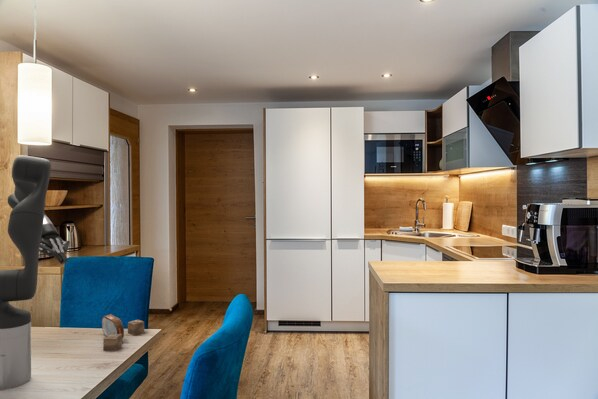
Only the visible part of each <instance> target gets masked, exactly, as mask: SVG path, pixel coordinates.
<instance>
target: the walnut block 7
mask: <svg viewBox="0 0 598 399" xmlns="http://www.w3.org/2000/svg"><path fill="white" fill-rule="evenodd" d="M127 333H128V335H132V336H138V335H141V334H144V333H145V321H143V320H140V319H135V320H131V321H127Z"/></svg>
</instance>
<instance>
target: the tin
mask: <svg viewBox="0 0 598 399" xmlns="http://www.w3.org/2000/svg"><path fill="white" fill-rule="evenodd" d="M101 327H102V328H101V329H102V332H103V334H104V335H105V337H106V336H108V335H109V334H122V340H123V339H124V337H125V336H124V335H125V328H124V325H123V322H122V320H121V319H120V318H119V317H117V316H115V315H113V314H112V313H110V314H107V315H104V316H102V318H101Z"/></svg>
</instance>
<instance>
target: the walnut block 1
mask: <svg viewBox="0 0 598 399" xmlns="http://www.w3.org/2000/svg"><path fill="white" fill-rule="evenodd" d="M102 340H103V352H116V350H117V351H118V350H119V349H120V348H122V347H123V339H122V334H109V335H108V336H105V337H104V338H103V339H102ZM121 346H122V347H121Z"/></svg>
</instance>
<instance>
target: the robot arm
mask: <svg viewBox="0 0 598 399" xmlns="http://www.w3.org/2000/svg"><path fill="white" fill-rule="evenodd" d="M51 171H52V164H51V161H50V160H49V159H47V158H42V157H37V156H32V155H31V156H29V155H24V154H20V155H17V156H16V157H15V158H14V160H13V162H12V168H11V178H12V181H13V184H14V191H13V192H14V193H11V194H9V195H8V196H7V204H8V205H9V208H11V209H12V210H11V212H10V214H9V220H8V224H7V234H8V236H9V238H10V239H11V242H13V245H15V247H16V248H17V249H18V251H19V252H20V254H21V256H22V259H23V261H24V267H23V268H22V269H6V270H5V269H4V270H3V269H2V270H0V390H1V391H3V390H6V389H11V388H15V387H19V386H21V385H24V384H26V383H27V382H29V381H30V380H31V379H32V314H31V311H29V310H26V309H21V308H18V307H15V306H13V305H12V304H10V303H9V302H20V301H28V300H32V299H33V298H34V297H35V295H36V291H37V287H38V286H37V285H38V271H39V256H40V255H39V254H40V253H42V254H44V255H46V256H48V257H50V258H51V257H55V258H56V260H57V261H58V262H59V263H60V265H63V264H66V263H67V262H68V260H69V259H68V257H67V256H66V253H67V252H68V251H69V248H70V247H69V246H70V240H66V241H65V240H63V239H62V237H60V236H59V231H58V230H57V228H56V227H55V226H54V223H53V222H52V221H51V220H50V218H49V217H48V216H47V214H46V213H45V208H46V207H45V206H46V198H47V192H48V188H49V182H50V178H51V173H52V172H51Z"/></svg>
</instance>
